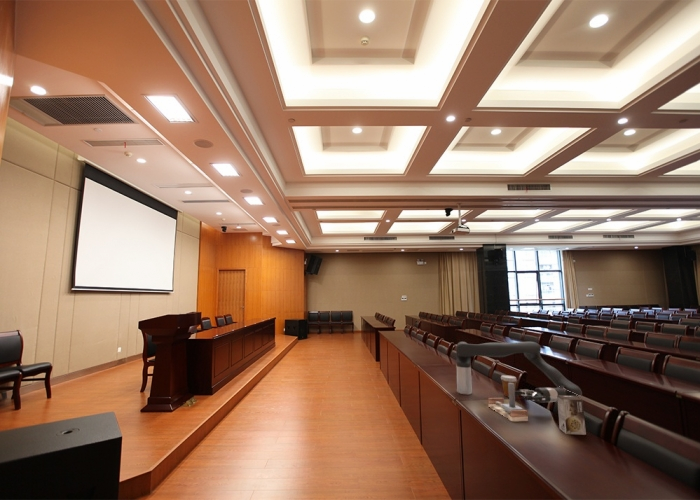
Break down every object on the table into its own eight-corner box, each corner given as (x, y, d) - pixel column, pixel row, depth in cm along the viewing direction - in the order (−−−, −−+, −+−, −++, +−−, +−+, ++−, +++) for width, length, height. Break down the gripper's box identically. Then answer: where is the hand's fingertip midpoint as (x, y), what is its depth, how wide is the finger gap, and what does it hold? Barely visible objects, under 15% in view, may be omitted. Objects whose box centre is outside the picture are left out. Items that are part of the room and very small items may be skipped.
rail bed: (488, 407, 190) (488, 398, 191) (502, 406, 192) (502, 397, 192) (512, 421, 169) (511, 411, 170) (527, 420, 170) (527, 410, 171)
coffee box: (578, 429, 160) (575, 395, 162) (586, 435, 154) (583, 399, 156) (558, 428, 161) (556, 394, 163) (566, 434, 154) (563, 398, 157)
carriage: (502, 410, 179) (500, 381, 181) (513, 409, 180) (512, 381, 182) (511, 415, 171) (509, 385, 173) (523, 414, 172) (521, 385, 174)
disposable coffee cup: (498, 394, 216) (497, 375, 217) (508, 392, 220) (507, 374, 221) (510, 398, 207) (509, 379, 209) (520, 396, 211) (519, 377, 213)
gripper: (536, 384, 187) (511, 384, 185) (555, 391, 173) (528, 392, 171) (537, 397, 186) (511, 398, 184) (556, 406, 172) (528, 407, 170)
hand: (519, 395), depth 178 cm, fingers open, 8 cm apart
